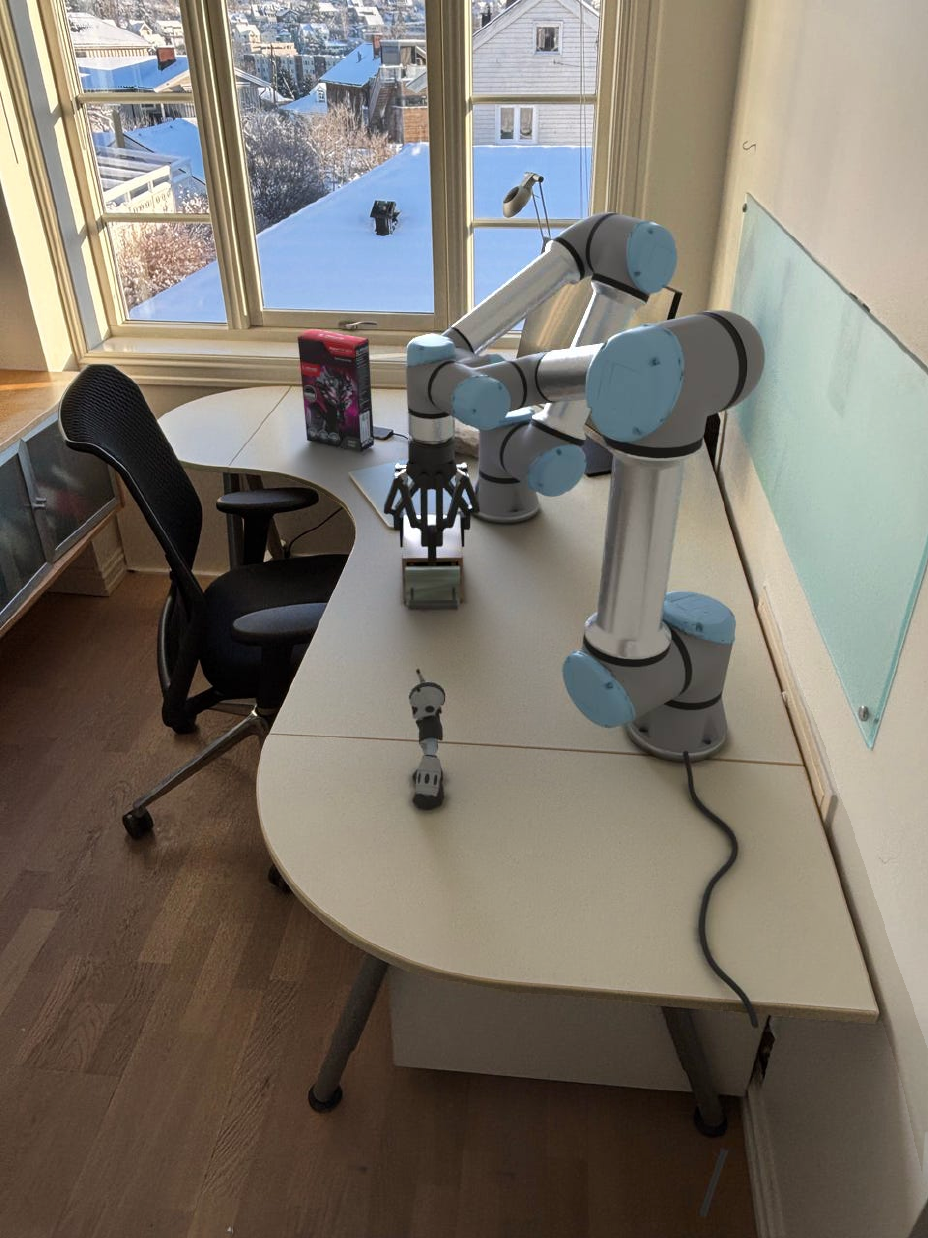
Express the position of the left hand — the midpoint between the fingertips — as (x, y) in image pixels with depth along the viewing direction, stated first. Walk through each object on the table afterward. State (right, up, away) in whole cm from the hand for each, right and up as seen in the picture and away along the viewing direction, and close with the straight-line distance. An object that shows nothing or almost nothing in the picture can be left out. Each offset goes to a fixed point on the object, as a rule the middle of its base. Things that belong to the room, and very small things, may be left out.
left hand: (432, 543), depth 182 cm
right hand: (+1, -5, -20) cm, 21 cm away
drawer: (0, -10, -7) cm, 12 cm away
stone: (+2, +29, +51) cm, 59 cm away
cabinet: (0, -7, -2) cm, 7 cm away
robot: (+1, -39, -50) cm, 64 cm away
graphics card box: (-25, +30, +52) cm, 65 cm away
